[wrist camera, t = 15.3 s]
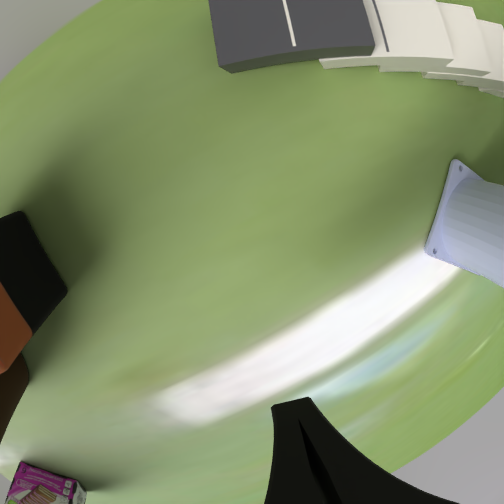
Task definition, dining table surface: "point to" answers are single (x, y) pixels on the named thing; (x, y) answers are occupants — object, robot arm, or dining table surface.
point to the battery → (23, 286)
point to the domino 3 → (456, 45)
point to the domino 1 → (288, 31)
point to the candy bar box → (43, 488)
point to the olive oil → (11, 390)
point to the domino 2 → (402, 35)
